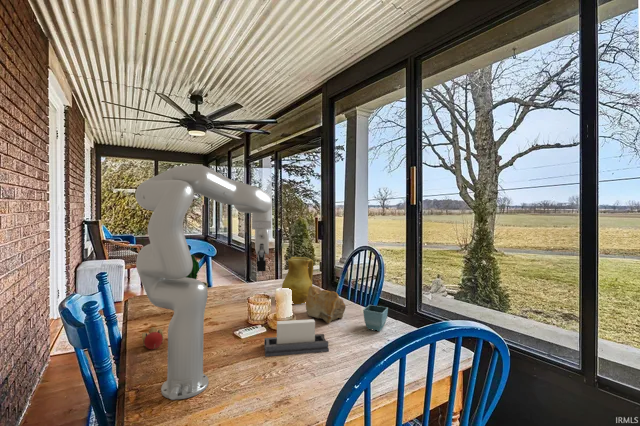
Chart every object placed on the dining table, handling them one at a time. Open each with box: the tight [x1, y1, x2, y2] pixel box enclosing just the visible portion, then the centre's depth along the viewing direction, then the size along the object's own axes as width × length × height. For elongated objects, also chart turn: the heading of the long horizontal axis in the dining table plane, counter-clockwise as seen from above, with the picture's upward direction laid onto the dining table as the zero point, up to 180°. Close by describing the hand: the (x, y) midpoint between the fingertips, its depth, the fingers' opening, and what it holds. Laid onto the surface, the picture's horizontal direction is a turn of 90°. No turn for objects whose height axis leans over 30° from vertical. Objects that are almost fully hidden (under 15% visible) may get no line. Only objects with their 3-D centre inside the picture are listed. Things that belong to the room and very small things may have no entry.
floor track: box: [263, 333, 330, 358], centre depth 119 cm, size 10×23×3 cm, turn 102°
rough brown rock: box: [305, 285, 347, 324], centre depth 152 cm, size 23×17×15 cm
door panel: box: [276, 318, 316, 344], centre depth 119 cm, size 4×14×9 cm, turn 102°
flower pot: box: [362, 304, 389, 332], centre depth 139 cm, size 9×9×9 cm
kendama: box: [141, 326, 164, 350], centre depth 122 cm, size 8×6×18 cm
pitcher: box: [281, 256, 314, 305], centre depth 178 cm, size 17×19×25 cm
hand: (260, 268), depth 125 cm, fingers open, 9 cm apart
